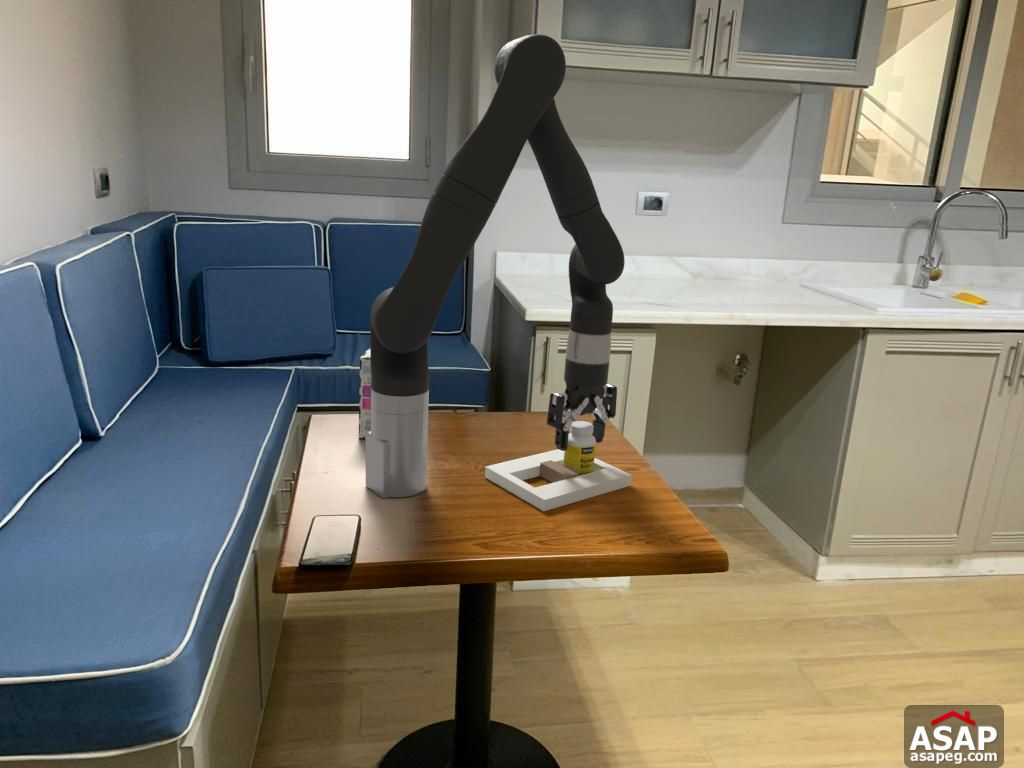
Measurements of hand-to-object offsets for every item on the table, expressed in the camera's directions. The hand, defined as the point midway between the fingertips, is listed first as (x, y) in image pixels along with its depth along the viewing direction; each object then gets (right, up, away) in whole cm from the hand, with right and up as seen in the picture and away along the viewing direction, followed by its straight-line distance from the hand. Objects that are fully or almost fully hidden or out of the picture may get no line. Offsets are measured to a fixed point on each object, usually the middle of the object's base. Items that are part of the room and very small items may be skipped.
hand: (579, 445), depth 137 cm
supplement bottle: (0, -6, +2) cm, 6 cm away
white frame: (-4, -6, -1) cm, 7 cm away
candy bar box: (-39, +1, +18) cm, 43 cm away
